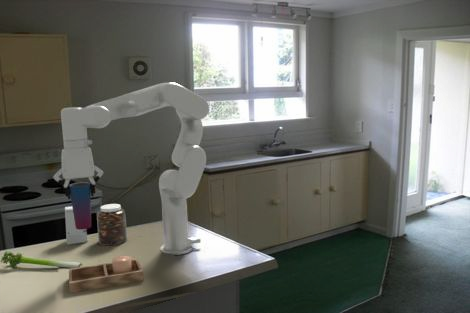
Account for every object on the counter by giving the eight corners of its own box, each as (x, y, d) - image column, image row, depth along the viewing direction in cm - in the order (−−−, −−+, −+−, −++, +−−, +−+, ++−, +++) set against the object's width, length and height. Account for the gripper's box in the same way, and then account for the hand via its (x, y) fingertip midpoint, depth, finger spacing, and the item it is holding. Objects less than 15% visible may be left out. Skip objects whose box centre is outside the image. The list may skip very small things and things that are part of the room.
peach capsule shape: (130, 271, 148) (129, 254, 147) (133, 278, 142) (132, 260, 141) (112, 274, 146) (111, 257, 145) (114, 281, 140) (113, 263, 139)
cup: (87, 230, 145) (83, 186, 143) (69, 230, 146) (64, 186, 144) (97, 224, 151) (94, 182, 149) (80, 224, 153) (76, 182, 151)
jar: (133, 240, 183) (130, 205, 181) (108, 247, 174) (106, 211, 172) (116, 234, 191) (114, 201, 189) (92, 242, 182) (90, 207, 180)
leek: (75, 278, 151) (-5, 269, 154) (85, 272, 158) (8, 264, 161) (76, 260, 151) (-4, 252, 154) (86, 256, 158) (9, 247, 161)
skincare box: (67, 245, 179) (64, 210, 177) (66, 240, 185) (63, 206, 182) (88, 242, 182) (85, 207, 180) (87, 237, 188) (84, 204, 186)
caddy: (137, 269, 152) (137, 258, 151) (143, 282, 140) (142, 271, 140) (70, 280, 144) (69, 268, 143) (70, 295, 133) (69, 283, 132)
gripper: (102, 141, 151) (106, 191, 154) (48, 145, 145) (53, 197, 148) (103, 143, 144) (108, 196, 147) (47, 148, 138) (52, 202, 141)
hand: (80, 196), depth 147 cm, fingers closed on cup, 6 cm apart
